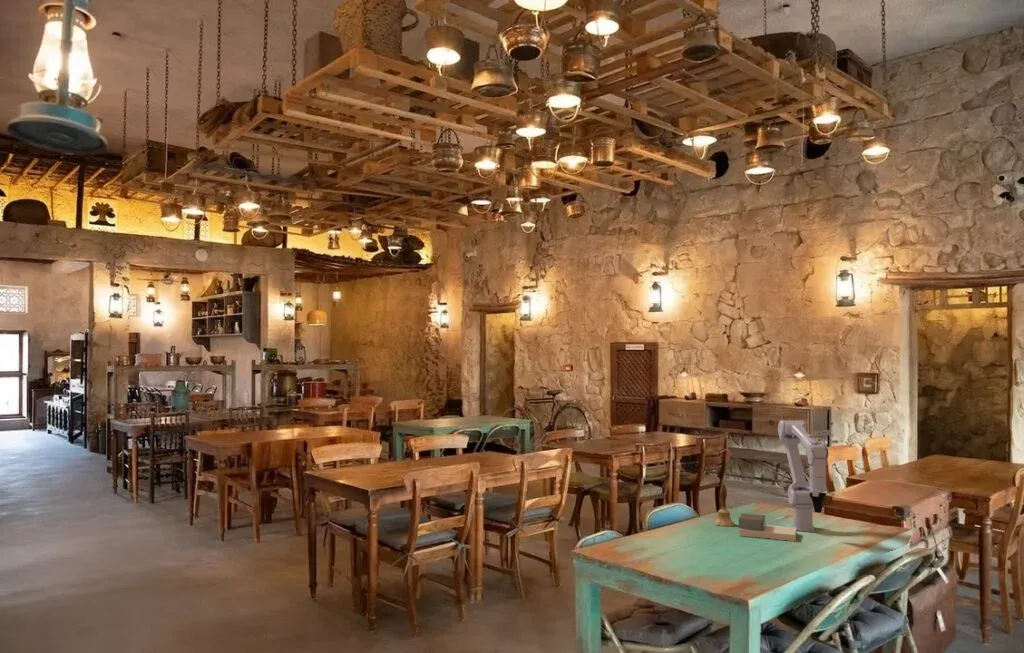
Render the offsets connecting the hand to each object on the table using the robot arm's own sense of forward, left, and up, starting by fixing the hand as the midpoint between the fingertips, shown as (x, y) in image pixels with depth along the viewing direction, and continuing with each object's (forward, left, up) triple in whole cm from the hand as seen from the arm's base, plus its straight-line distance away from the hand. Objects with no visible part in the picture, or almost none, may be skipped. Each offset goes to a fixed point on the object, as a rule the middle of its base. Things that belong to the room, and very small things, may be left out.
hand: (818, 512), depth 275 cm
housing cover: (+2, -24, -7) cm, 25 cm away
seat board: (+2, -18, -10) cm, 21 cm away
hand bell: (-9, -36, -10) cm, 38 cm away
